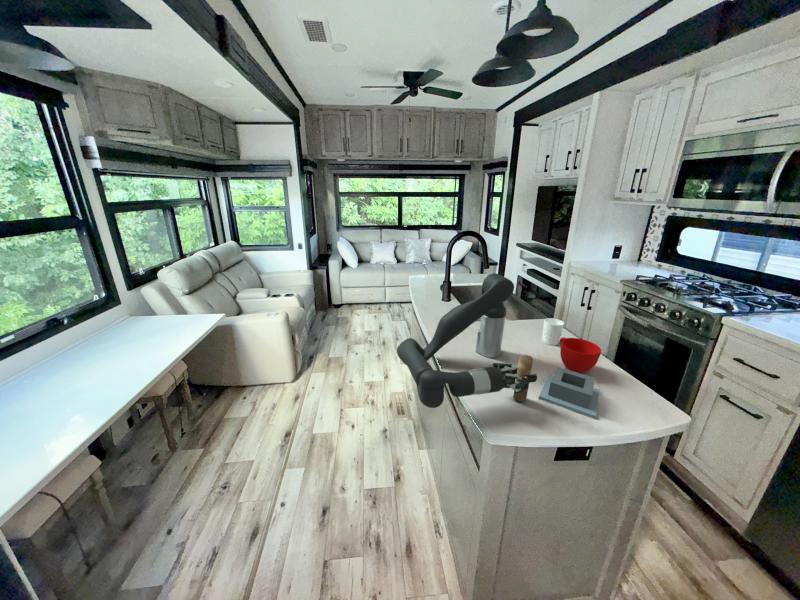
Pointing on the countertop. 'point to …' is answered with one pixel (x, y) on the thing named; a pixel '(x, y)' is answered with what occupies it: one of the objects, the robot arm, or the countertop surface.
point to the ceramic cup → (579, 354)
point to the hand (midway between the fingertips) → (531, 373)
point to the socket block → (571, 392)
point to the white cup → (552, 331)
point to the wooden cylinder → (523, 370)
